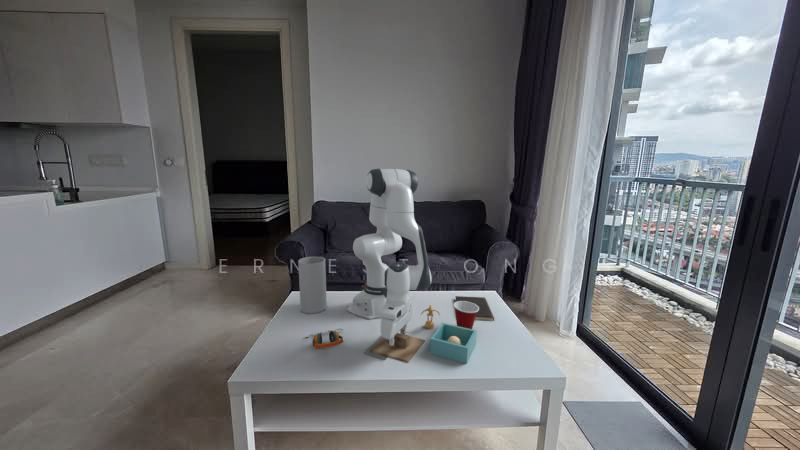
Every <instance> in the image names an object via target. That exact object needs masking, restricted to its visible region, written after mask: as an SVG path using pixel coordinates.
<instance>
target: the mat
mask: <svg viewBox="0 0 800 450" xmlns="http://www.w3.org/2000/svg"><path fill="white" fill-rule="evenodd" d="M381 338H383V337H382V336H381V335H380V336H379V337H378V338H377V339H376V340H375V341H374V342H372V344H370V346H367V348H366V349H365V350H364V351H363V355H367V356H370V357H373V358H377V359H380V360H384V361H386V360H387V359H388V357H385V356H381V355H378V354H375V353H371V352H370V349H371V348H372V347H373V346H374V345H375V344H376V343H377V342H378V341H379V340H380V339H381Z"/></svg>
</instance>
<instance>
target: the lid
mask: <svg viewBox="0 0 800 450" xmlns="http://www.w3.org/2000/svg"><path fill="white" fill-rule="evenodd" d="M394 340H395V344H394V345H393V346H391V345H389V340H388V339H385V338H381V339H380V340H379V341H378V342H377V343H376V344H375V345H374V346H373V347H372V348H371V349H370V352H371V353H375V354H378V355H381V356H385V357H387V358H391V359H395V360H398V361H401V362H404V363H405V362H406V363H409V362H410V361H411V360H412V359H413V357H414V356H415V354H416V353H417V352H418V351H419V349H420V348H421V347H423V344H424V343H425V342H426V340H425V339H424V338H419V337H415V336H413V335H412V336H411V335H407V334H401V333H400V332H398V333H397V334H396V335H395V336H394Z"/></svg>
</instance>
